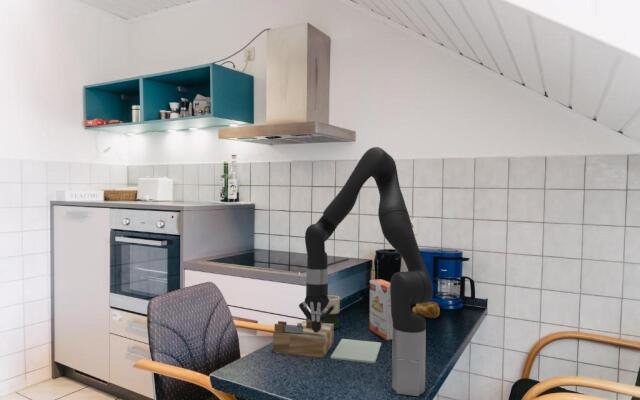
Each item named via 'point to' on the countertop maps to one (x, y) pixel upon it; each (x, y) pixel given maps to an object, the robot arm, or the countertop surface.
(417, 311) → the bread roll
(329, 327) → the lid
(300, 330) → the sliding bolt
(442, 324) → the countertop surface
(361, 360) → the mat
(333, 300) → the character mug
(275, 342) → the wooden box
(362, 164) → the robot arm
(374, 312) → the cracker box
